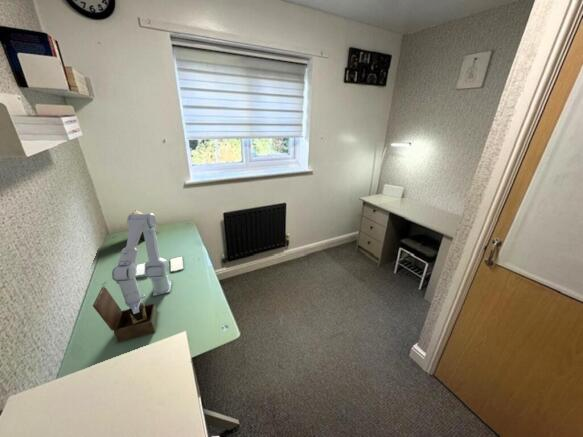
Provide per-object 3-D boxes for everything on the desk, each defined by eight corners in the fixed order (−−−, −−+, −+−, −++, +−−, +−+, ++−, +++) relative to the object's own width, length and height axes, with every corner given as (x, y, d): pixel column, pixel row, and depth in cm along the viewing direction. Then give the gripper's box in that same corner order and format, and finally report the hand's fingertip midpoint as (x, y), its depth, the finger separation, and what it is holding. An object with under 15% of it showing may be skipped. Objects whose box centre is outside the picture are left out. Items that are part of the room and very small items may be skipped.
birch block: (146, 311, 106) (143, 303, 104) (147, 319, 102) (144, 310, 100) (133, 316, 103) (130, 307, 101) (133, 324, 100) (130, 315, 98)
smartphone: (182, 256, 153) (183, 268, 141) (182, 256, 153) (183, 269, 141) (170, 258, 150) (170, 271, 138) (170, 259, 150) (170, 272, 138)
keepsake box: (158, 313, 110) (154, 302, 108) (154, 332, 100) (151, 321, 98) (124, 321, 106) (120, 311, 103) (118, 342, 96) (113, 331, 93)
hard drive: (149, 273, 135) (152, 261, 146) (132, 276, 132) (137, 264, 143) (149, 275, 136) (153, 263, 146) (133, 278, 133) (137, 266, 144)
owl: (147, 240, 173) (140, 215, 165) (132, 239, 175) (124, 214, 166) (158, 232, 184) (152, 209, 176) (143, 231, 186) (137, 208, 178)
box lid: (104, 285, 97) (102, 286, 96) (94, 305, 87) (92, 305, 87) (121, 309, 103) (119, 310, 103) (114, 330, 93) (111, 331, 93)
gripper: (144, 296, 93) (152, 321, 99) (139, 277, 104) (147, 301, 110) (122, 304, 90) (132, 330, 95) (120, 284, 100) (129, 308, 106)
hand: (139, 315), depth 102 cm, fingers closed on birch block, 5 cm apart
